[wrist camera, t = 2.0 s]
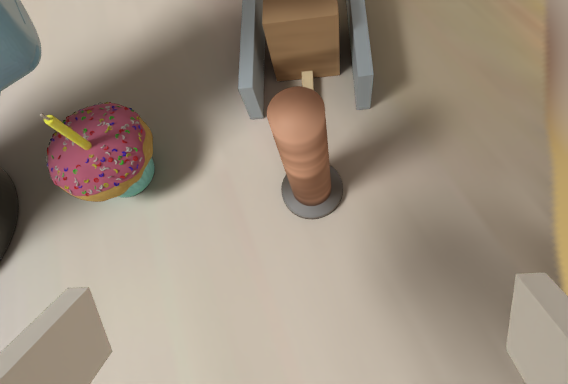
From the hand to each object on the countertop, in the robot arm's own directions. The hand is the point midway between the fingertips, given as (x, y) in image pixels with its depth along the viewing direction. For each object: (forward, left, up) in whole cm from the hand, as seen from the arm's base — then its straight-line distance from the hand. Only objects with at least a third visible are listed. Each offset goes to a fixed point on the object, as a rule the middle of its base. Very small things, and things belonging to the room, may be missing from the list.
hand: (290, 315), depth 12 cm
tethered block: (-10, +16, -17) cm, 25 cm away
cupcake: (-22, +3, -17) cm, 28 cm away
